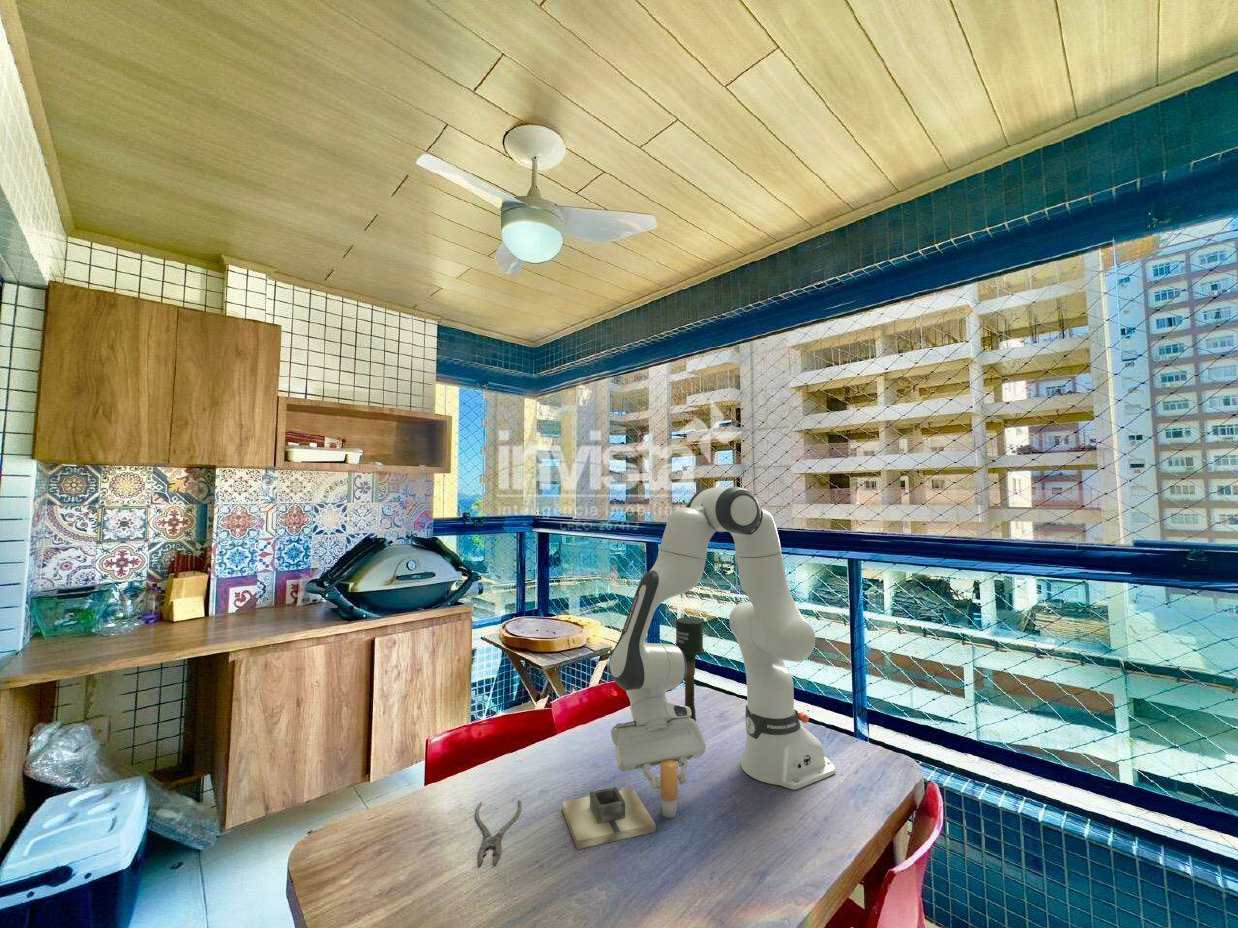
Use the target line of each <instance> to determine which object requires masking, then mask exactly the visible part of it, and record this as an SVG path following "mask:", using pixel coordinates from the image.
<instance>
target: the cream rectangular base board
mask: <svg viewBox="0 0 1238 928" xmlns="http://www.w3.org/2000/svg"><path fill="white" fill-rule="evenodd" d="M561 809H562V812H563V815H564V817H565V821H566V823H567V826H568V829H569V831H570V834H571V837H572V839H573V842H574V845H575V848H576V850H581V849H584V848H585V849H586V848H590V847H594V846H598V845H602V844H607V843H611V842H615V841H620V840H624V839H630V838H633V837H638V836H642V835H647V834H650V833H655V832H656V823H655V821H654V819H653V818H652V816H651V815H650V813H649V812H648V810H647V809H646V807H645V805H644V804H643V802H642V800H641V799H640V797H639V795H638V794H637V793H636V791H635V790H634V788H633V787H632V788H627V789H621V790H620V789H618V787H616V786H614V787H610V788H609V787H608V788H604V789H599V790H593V791H589V796H585V797H579V798H573V799H569V800H564V801H562V803H561Z"/></svg>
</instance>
